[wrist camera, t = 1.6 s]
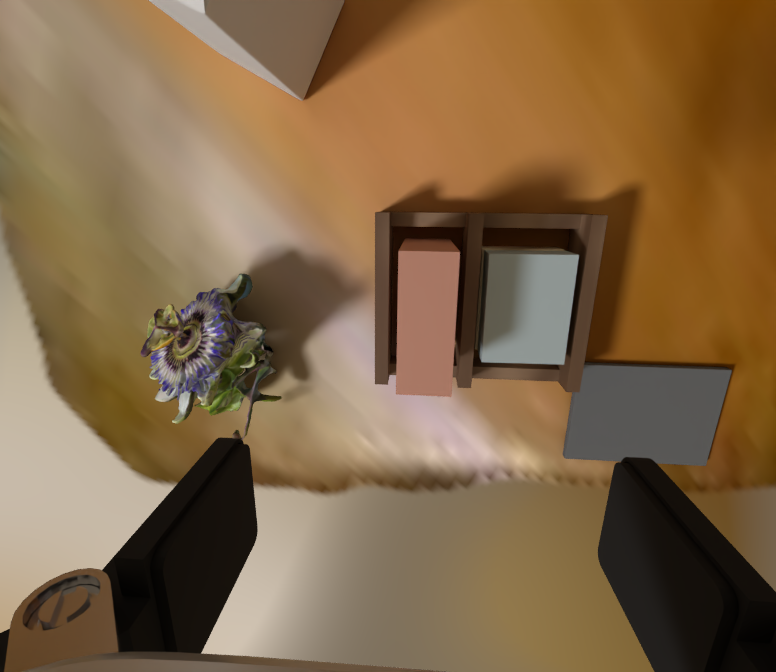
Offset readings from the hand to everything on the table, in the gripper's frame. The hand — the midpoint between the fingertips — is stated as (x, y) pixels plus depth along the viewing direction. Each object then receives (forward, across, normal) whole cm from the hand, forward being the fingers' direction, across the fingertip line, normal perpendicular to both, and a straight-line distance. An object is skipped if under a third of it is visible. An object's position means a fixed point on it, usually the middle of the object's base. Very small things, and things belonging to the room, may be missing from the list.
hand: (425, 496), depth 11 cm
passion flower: (+26, +16, +5) cm, 30 cm away
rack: (+25, -5, 0) cm, 26 cm away
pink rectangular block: (+25, 0, 0) cm, 25 cm away
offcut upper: (+23, -8, 0) cm, 24 cm away
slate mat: (+25, -19, +10) cm, 33 cm away
